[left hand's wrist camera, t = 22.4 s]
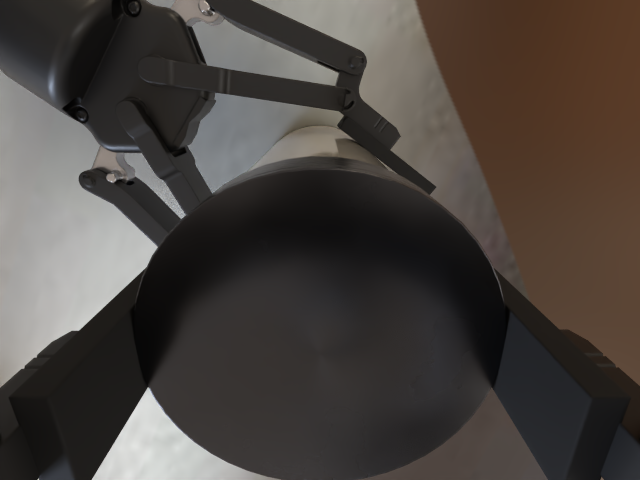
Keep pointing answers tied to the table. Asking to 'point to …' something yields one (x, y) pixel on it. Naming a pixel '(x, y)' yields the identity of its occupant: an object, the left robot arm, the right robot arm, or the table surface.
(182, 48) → the right robot arm
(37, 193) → the table surface
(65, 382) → the left robot arm
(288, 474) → the lid
